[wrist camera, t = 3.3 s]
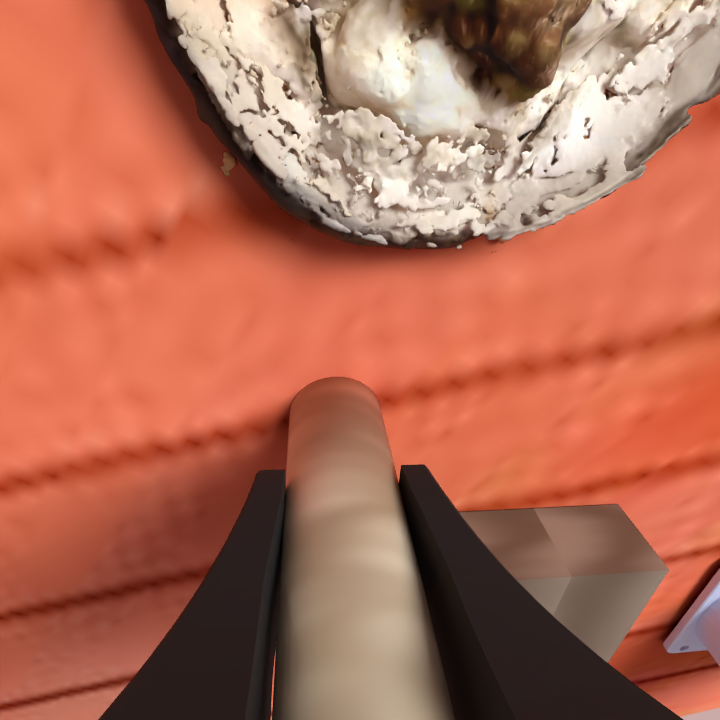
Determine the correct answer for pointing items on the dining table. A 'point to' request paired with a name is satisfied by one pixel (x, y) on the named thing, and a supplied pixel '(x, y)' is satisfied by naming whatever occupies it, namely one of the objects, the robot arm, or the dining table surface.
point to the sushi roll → (441, 104)
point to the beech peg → (350, 572)
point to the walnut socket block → (577, 565)
